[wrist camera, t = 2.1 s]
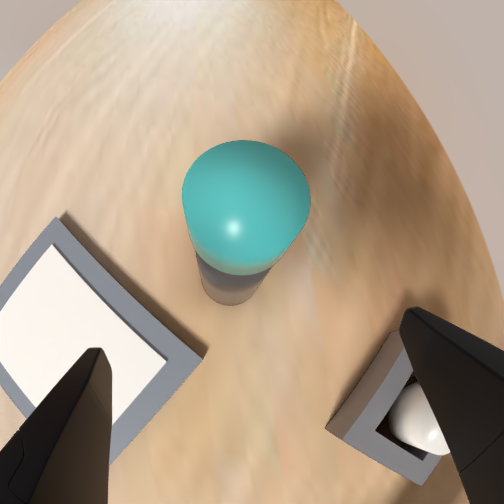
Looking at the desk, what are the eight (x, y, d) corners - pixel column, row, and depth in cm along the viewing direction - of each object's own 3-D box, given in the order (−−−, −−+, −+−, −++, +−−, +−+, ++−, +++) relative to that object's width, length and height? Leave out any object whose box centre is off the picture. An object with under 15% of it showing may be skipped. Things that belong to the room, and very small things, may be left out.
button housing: (455, 386, 19) (480, 388, 17) (400, 474, 17) (421, 486, 14) (391, 331, 20) (414, 328, 17) (324, 428, 18) (341, 439, 15)
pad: (203, 358, 19) (202, 359, 18) (95, 480, 15) (90, 485, 14) (60, 220, 20) (54, 215, 19) (-26, 336, 16) (-34, 335, 15)
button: (448, 399, 17) (484, 403, 13) (416, 451, 16) (450, 464, 12) (412, 369, 17) (449, 370, 14) (376, 425, 16) (409, 438, 13)
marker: (272, 273, 21) (333, 189, 10) (234, 319, 19) (258, 283, 9) (226, 236, 21) (239, 122, 10) (187, 280, 20) (155, 198, 9)
